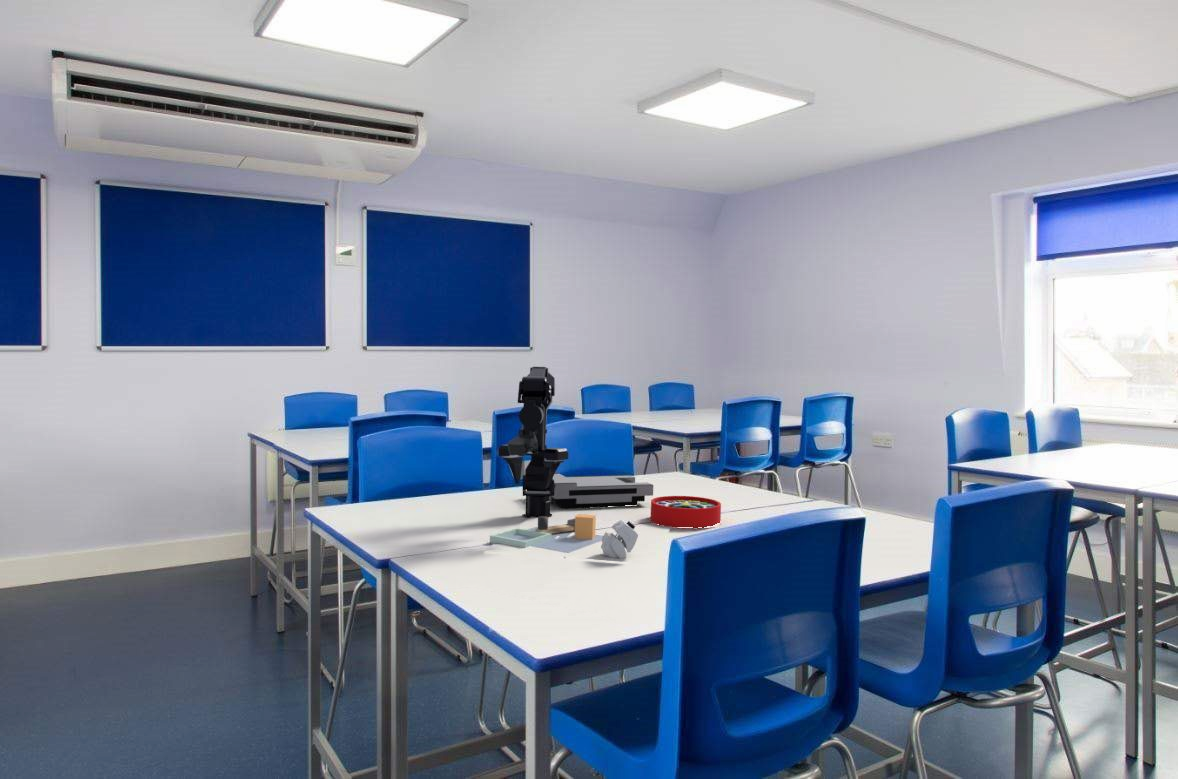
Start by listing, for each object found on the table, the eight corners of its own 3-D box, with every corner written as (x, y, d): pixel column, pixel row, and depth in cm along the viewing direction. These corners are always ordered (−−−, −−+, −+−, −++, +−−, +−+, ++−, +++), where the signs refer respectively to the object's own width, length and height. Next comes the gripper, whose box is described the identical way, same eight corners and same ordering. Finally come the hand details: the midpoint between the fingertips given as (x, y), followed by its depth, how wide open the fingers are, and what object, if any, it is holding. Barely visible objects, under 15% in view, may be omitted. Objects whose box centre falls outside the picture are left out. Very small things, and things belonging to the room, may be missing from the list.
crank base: (494, 541, 201) (494, 539, 201) (541, 527, 218) (541, 525, 218) (568, 555, 189) (568, 552, 189) (611, 539, 206) (611, 536, 206)
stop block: (577, 535, 208) (578, 514, 207) (595, 536, 207) (595, 515, 206) (574, 538, 204) (575, 516, 204) (592, 539, 203) (592, 517, 203)
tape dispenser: (618, 568, 185) (646, 535, 186) (597, 550, 184) (625, 517, 185) (613, 562, 191) (640, 530, 192) (592, 544, 190) (620, 512, 191)
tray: (489, 543, 199) (489, 535, 199) (516, 535, 208) (516, 527, 208) (525, 549, 193) (525, 542, 193) (551, 541, 203) (551, 533, 203)
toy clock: (690, 493, 244) (735, 505, 228) (689, 512, 245) (735, 525, 228) (637, 499, 234) (681, 511, 217) (636, 518, 234) (680, 532, 217)
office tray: (652, 507, 253) (653, 481, 252) (554, 511, 243) (555, 484, 242) (629, 495, 272) (629, 471, 272) (537, 498, 262) (538, 473, 262)
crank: (578, 525, 217) (578, 510, 217) (589, 529, 213) (590, 513, 213) (533, 532, 208) (533, 516, 208) (544, 535, 204) (544, 519, 204)
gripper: (485, 424, 206) (484, 485, 206) (546, 428, 196) (544, 492, 197) (511, 423, 216) (509, 481, 216) (570, 426, 206) (568, 487, 206)
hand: (531, 485), depth 208 cm, fingers open, 9 cm apart
